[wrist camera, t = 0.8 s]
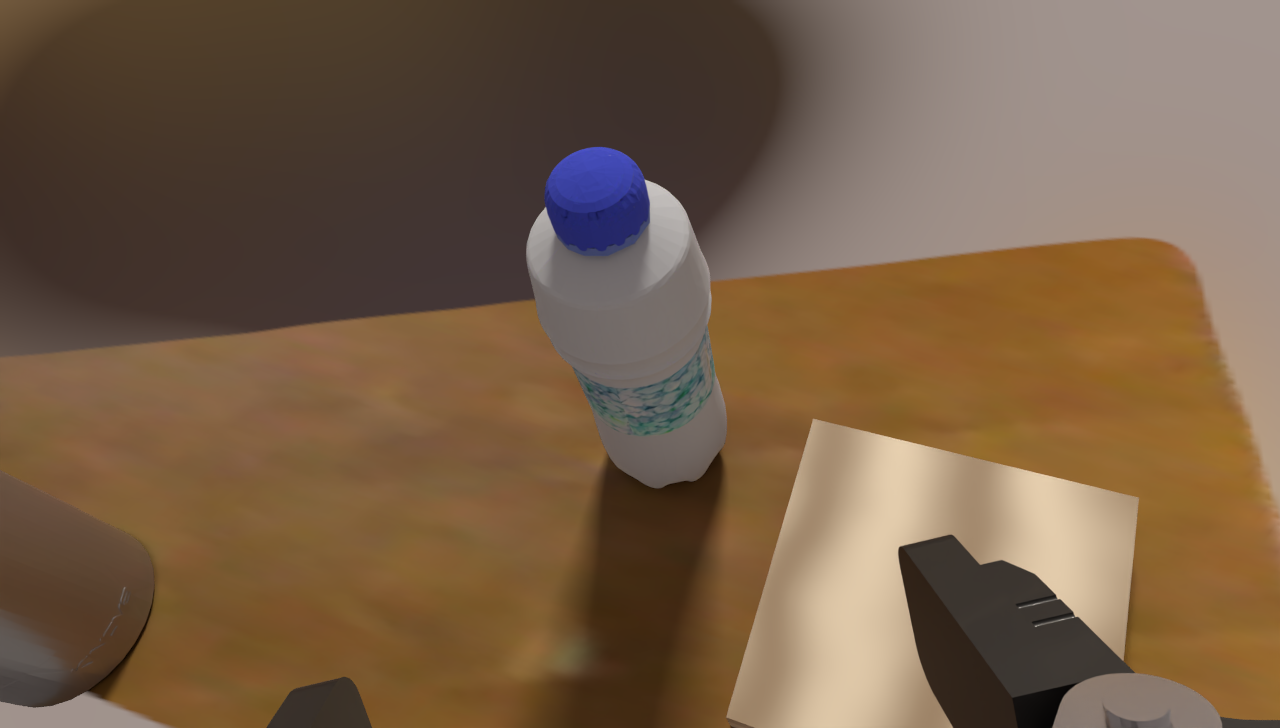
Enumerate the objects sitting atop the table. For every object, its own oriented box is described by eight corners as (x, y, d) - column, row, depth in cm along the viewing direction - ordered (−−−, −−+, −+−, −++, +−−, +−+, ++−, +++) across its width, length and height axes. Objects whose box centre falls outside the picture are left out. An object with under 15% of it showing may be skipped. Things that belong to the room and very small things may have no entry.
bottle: (744, 393, 44) (710, 99, 27) (720, 513, 41) (665, 265, 24) (622, 377, 46) (519, 92, 29) (591, 491, 43) (454, 245, 26)
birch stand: (730, 726, 36) (726, 717, 34) (812, 441, 42) (813, 418, 40) (1084, 856, 32) (1105, 855, 30) (1119, 518, 38) (1138, 497, 36)
